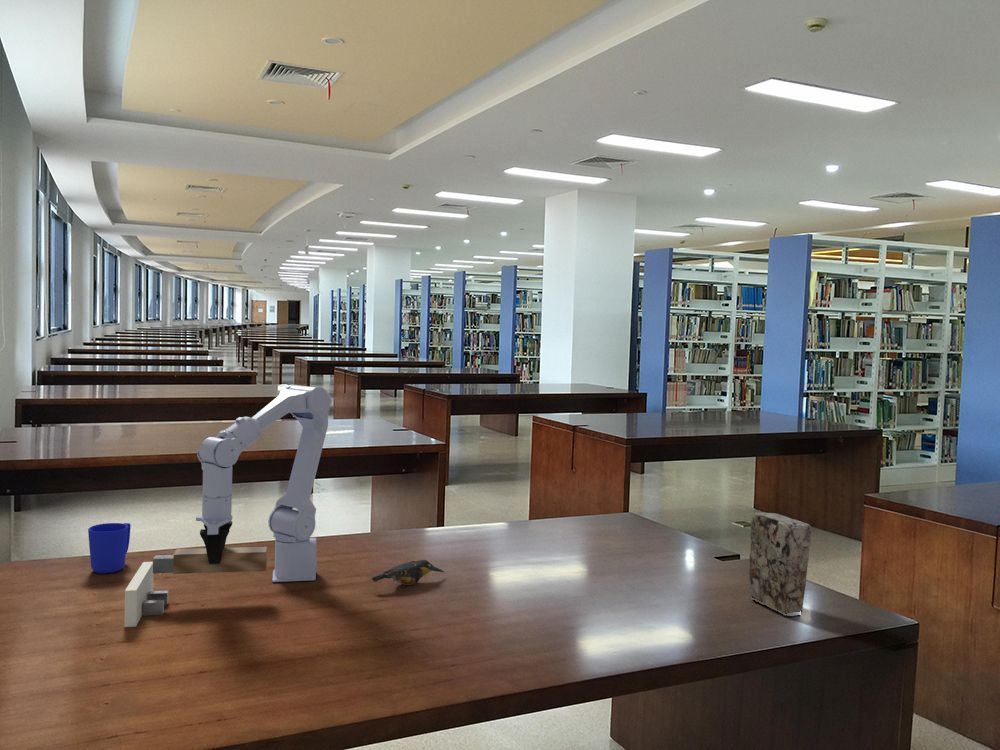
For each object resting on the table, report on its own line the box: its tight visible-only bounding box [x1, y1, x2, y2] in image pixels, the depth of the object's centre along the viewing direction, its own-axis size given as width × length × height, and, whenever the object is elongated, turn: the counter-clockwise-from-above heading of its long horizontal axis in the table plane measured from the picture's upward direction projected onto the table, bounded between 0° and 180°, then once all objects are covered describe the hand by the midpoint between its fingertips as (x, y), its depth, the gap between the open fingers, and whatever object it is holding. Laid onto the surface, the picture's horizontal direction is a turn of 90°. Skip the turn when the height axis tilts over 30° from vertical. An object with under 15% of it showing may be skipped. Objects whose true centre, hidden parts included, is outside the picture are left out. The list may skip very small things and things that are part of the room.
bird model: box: [369, 559, 445, 586], centre depth 177 cm, size 20×5×5 cm, turn 131°
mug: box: [87, 522, 132, 574], centre depth 181 cm, size 8×12×10 cm
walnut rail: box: [152, 546, 268, 575], centre depth 162 cm, size 22×4×4 cm, turn 104°
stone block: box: [748, 511, 812, 614], centre depth 171 cm, size 13×7×20 cm, turn 26°
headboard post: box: [124, 561, 169, 628], centre depth 156 cm, size 6×18×7 cm, turn 14°
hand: (215, 560), depth 162 cm, fingers closed on walnut rail, 4 cm apart
